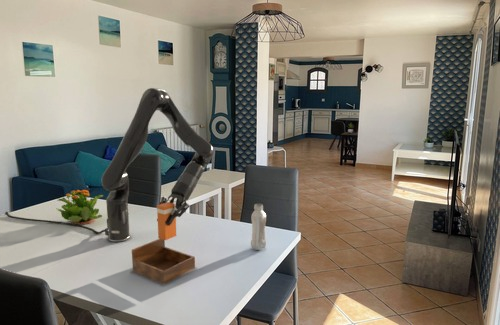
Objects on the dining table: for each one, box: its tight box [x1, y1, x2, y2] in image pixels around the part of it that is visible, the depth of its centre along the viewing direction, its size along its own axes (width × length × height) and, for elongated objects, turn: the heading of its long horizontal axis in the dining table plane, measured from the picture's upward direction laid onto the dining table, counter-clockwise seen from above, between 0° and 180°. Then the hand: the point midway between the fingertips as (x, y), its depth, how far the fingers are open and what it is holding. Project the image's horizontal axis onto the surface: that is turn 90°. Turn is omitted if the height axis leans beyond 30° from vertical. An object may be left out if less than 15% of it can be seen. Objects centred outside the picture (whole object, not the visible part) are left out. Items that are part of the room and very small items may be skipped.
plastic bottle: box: [250, 203, 267, 251], centre depth 163 cm, size 6×7×20 cm
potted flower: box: [56, 189, 104, 226], centre depth 197 cm, size 25×24×18 cm
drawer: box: [131, 238, 196, 285], centre depth 144 cm, size 18×16×9 cm
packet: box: [156, 202, 177, 241], centre depth 144 cm, size 4×6×13 cm
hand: (163, 223), depth 142 cm, fingers closed on packet, 4 cm apart
